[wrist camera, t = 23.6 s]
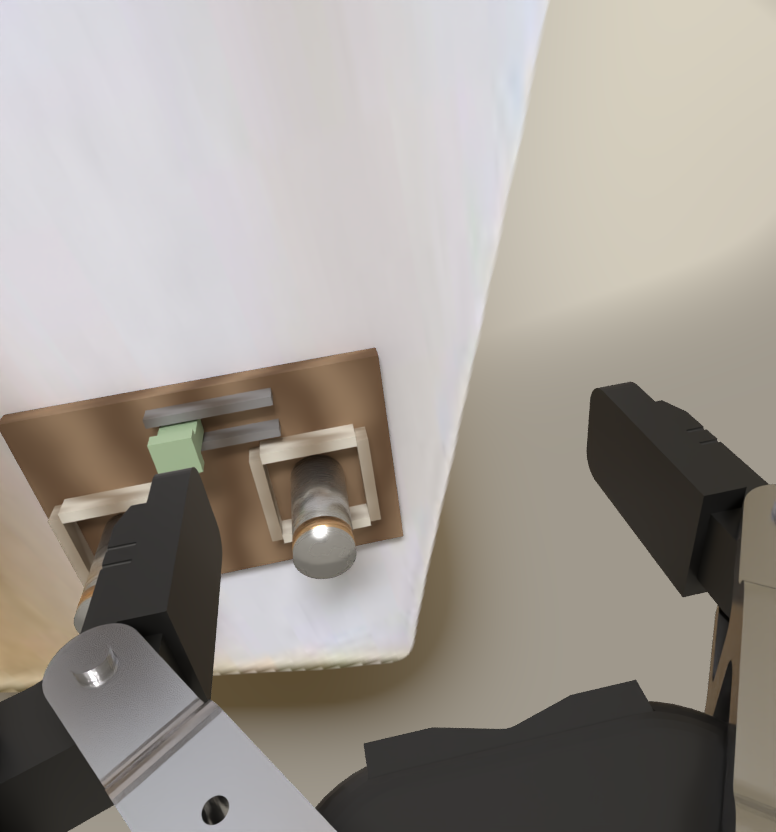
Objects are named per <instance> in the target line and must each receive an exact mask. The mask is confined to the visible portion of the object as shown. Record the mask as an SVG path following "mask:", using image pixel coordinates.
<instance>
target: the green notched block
mask: <svg viewBox="0 0 776 832" xmlns="http://www.w3.org/2000/svg"><path fill="white" fill-rule="evenodd" d="M203 434H204V429H203V426H202V423H201V420H200V419H196V420H191V421H186V422H180V423H175V424H170V425H164V426H160V427H159V431H158V435H157V436H153V437H150V438H149V441H148V445H147V447H148V449H149V452H150V454H151V457H152V459H153V462H154V464H155V467H156V469H157V472H158V474H160V473H165V472H170V471H176V470H181V469H186V468H191V467H195V468H196V469H197V470H198V472H199V473H200V472H203V469H204V460H203V457H202V454H201V447H202V441H203Z"/></svg>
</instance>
